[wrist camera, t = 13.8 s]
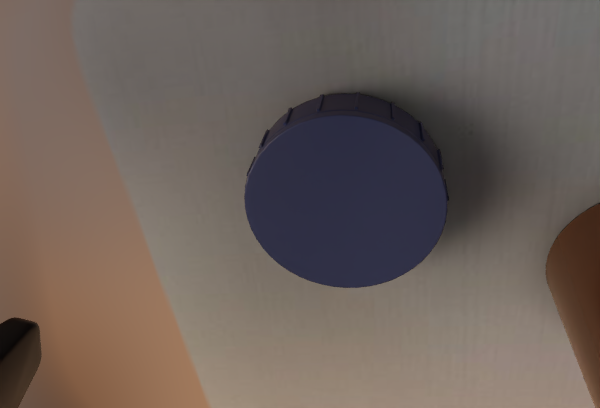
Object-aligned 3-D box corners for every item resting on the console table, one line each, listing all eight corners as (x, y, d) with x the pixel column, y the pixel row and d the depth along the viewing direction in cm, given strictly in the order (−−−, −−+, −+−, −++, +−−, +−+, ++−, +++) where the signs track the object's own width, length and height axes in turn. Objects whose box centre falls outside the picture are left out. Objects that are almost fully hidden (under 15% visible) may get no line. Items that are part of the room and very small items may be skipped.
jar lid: (365, 285, 22) (364, 318, 20) (221, 194, 21) (206, 222, 19) (486, 167, 19) (496, 195, 17) (322, 50, 17) (316, 69, 16)
